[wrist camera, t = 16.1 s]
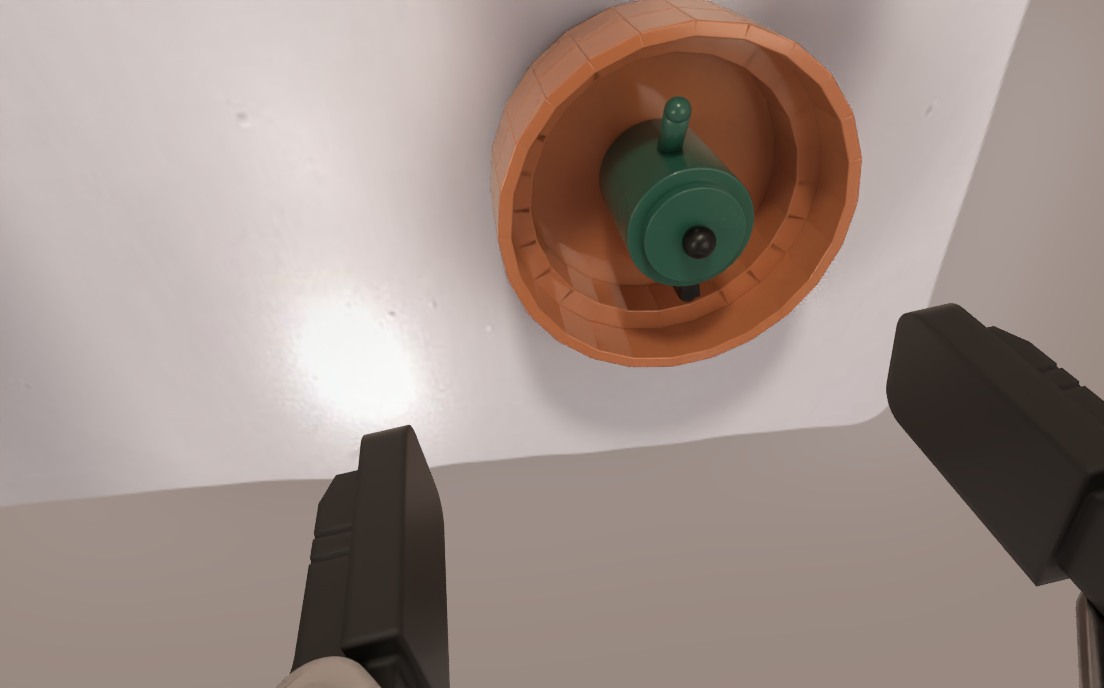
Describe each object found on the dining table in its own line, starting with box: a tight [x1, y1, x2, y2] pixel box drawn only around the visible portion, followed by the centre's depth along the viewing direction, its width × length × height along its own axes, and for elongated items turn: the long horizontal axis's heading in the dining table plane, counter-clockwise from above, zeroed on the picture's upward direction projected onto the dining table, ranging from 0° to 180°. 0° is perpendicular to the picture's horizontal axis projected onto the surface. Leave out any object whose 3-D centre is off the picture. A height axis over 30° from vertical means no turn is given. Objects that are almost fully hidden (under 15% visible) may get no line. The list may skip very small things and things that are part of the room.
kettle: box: [599, 96, 754, 302], centre depth 31 cm, size 10×6×8 cm, turn 10°
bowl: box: [491, 0, 862, 367], centre depth 33 cm, size 16×16×6 cm
